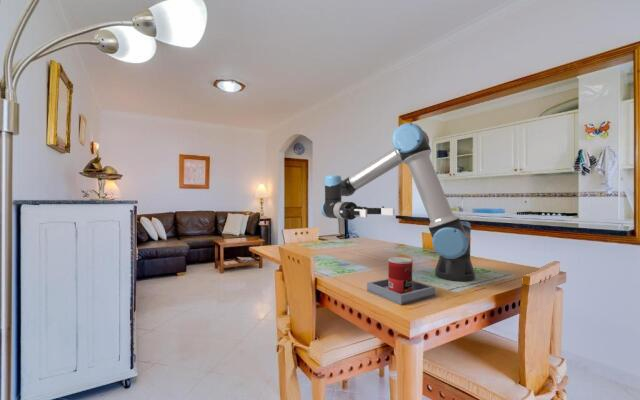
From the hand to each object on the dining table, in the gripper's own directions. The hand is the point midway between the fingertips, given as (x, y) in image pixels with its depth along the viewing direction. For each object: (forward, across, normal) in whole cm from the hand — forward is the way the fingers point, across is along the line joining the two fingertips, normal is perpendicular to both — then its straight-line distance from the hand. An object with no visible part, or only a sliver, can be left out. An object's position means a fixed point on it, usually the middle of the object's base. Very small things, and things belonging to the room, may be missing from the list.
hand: (380, 212), depth 113 cm
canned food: (+9, 0, -27) cm, 28 cm away
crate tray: (+10, 0, -28) cm, 29 cm away
